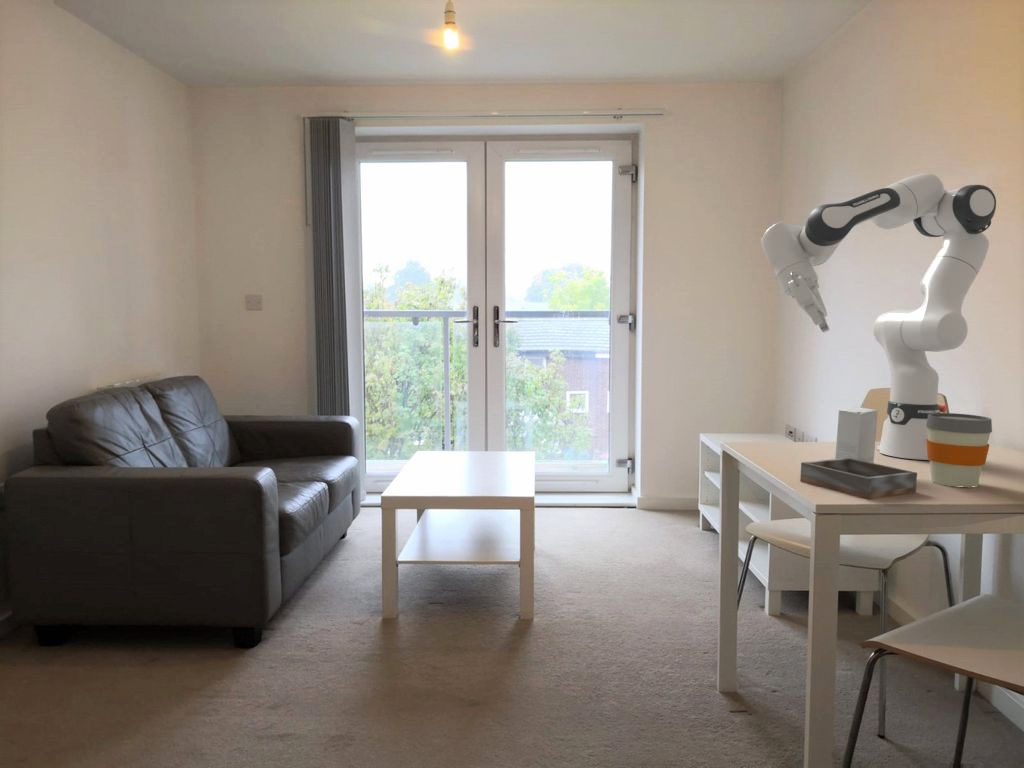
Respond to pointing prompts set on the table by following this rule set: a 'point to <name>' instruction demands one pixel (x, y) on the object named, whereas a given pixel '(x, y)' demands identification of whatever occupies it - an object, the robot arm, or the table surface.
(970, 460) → the reusable coffee cup
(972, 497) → the table surface
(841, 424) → the skincare box
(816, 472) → the open storage bin
